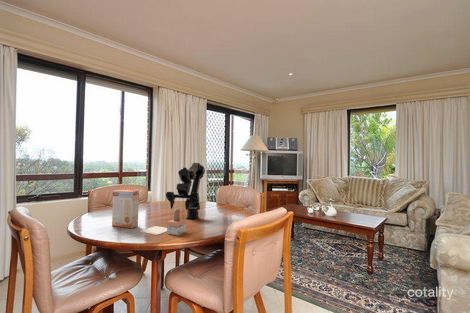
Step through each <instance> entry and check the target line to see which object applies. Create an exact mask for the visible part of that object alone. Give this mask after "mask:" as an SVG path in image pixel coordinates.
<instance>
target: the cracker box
mask: <svg viewBox="0 0 470 313" xmlns="http://www.w3.org/2000/svg"><path fill="white" fill-rule="evenodd" d="M139 192H140V191H139V190H134V189H133V190H132V189H131V190H130V189H116V190H115V189H114V190H112V211H111V212H112V216H111V217H112V218H111V220H112V221H111V224H112V225H111V226H112V227H116V226H117V227H119V228H125V229H133V228H136V227H138V226H139V196H140V195H139Z"/></svg>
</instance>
